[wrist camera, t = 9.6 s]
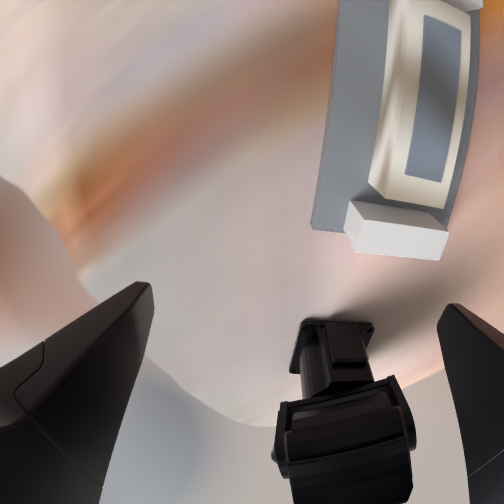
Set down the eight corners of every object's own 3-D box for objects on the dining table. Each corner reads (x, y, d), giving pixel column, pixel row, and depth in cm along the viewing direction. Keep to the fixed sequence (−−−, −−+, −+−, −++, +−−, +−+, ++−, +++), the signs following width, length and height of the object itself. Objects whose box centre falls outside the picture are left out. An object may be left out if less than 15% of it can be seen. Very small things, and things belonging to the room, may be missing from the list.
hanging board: (434, 238, 20) (460, 266, 16) (310, 223, 20) (320, 253, 16) (470, 3, 11) (503, -5, 7) (340, -48, 11) (356, -74, 7)
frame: (421, 191, 17) (444, 210, 15) (367, 181, 17) (386, 199, 15) (444, 22, 11) (471, 15, 9) (389, 0, 11) (411, -14, 9)
